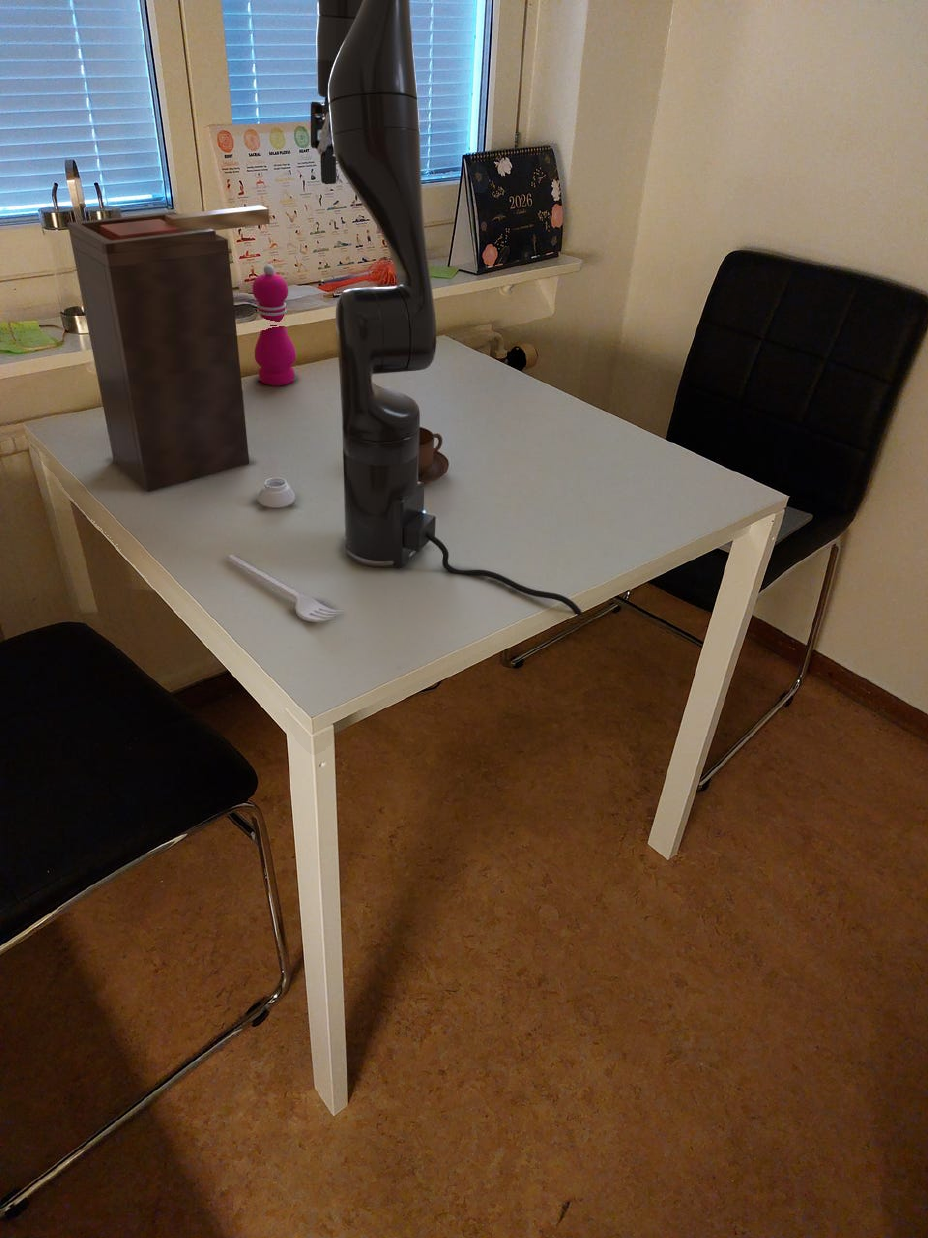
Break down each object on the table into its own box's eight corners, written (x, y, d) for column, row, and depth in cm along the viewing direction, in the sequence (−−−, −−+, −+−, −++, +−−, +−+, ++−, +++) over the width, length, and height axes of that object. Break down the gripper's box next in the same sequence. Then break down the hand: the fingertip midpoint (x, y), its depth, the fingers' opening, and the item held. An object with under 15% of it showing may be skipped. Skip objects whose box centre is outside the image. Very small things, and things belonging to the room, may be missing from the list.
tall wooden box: (211, 435, 142) (184, 210, 123) (249, 463, 135) (226, 229, 115) (113, 460, 133) (67, 222, 114) (148, 491, 126) (105, 243, 107)
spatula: (254, 217, 126) (253, 202, 125) (276, 226, 123) (275, 210, 122) (101, 235, 114) (98, 218, 113) (121, 245, 111) (118, 228, 110)
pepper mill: (301, 373, 165) (295, 260, 153) (291, 388, 159) (284, 271, 148) (263, 370, 165) (253, 257, 154) (251, 384, 160) (241, 268, 148)
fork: (240, 556, 114) (238, 543, 113) (347, 622, 104) (347, 609, 102) (219, 565, 112) (217, 552, 111) (326, 634, 102) (325, 620, 100)
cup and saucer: (398, 449, 141) (398, 412, 138) (463, 470, 137) (465, 432, 133) (352, 477, 133) (351, 438, 129) (420, 500, 128) (421, 461, 125)
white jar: (300, 496, 127) (269, 490, 128) (299, 478, 125) (267, 471, 127) (284, 512, 123) (252, 505, 124) (283, 493, 122) (250, 486, 123)
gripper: (292, 52, 123) (296, 181, 132) (352, 60, 115) (352, 198, 124) (337, 54, 128) (338, 179, 137) (398, 62, 119) (395, 195, 128)
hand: (345, 188), depth 130 cm, fingers open, 8 cm apart
